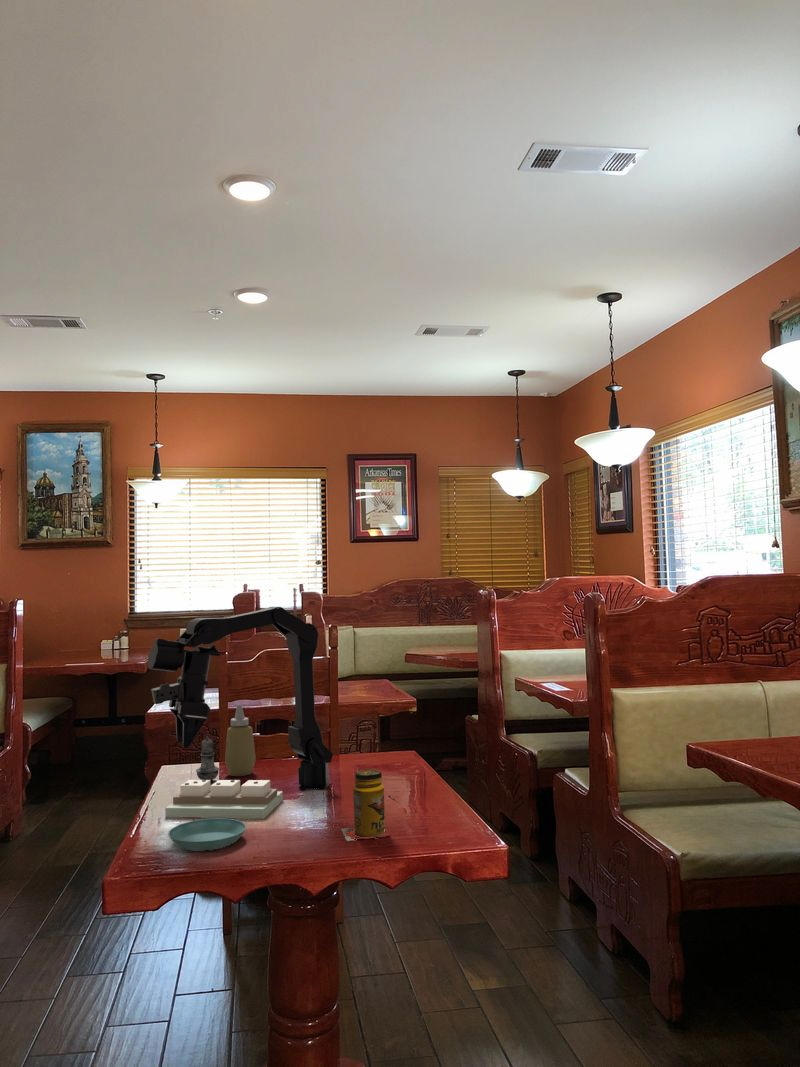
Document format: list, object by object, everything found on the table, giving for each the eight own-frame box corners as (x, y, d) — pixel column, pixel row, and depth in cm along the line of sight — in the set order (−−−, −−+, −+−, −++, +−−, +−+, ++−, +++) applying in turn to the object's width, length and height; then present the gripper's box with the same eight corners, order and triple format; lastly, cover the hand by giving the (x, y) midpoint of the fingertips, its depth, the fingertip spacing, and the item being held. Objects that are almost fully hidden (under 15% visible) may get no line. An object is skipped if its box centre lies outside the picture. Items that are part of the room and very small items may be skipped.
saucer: (229, 857, 147) (229, 842, 147) (154, 854, 150) (154, 840, 150) (257, 831, 162) (257, 818, 162) (188, 830, 164) (188, 816, 165)
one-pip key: (270, 791, 180) (270, 779, 180) (263, 797, 175) (263, 785, 175) (248, 791, 180) (248, 779, 180) (241, 797, 175) (241, 785, 175)
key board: (282, 800, 184) (282, 785, 184) (264, 818, 170) (263, 802, 170) (191, 799, 187) (191, 784, 187) (165, 817, 173) (165, 801, 173)
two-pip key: (240, 791, 181) (240, 779, 181) (232, 797, 176) (232, 784, 176) (219, 791, 181) (218, 779, 181) (210, 797, 176) (210, 784, 176)
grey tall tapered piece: (213, 787, 197) (213, 737, 198) (191, 786, 198) (190, 737, 199) (223, 781, 203) (223, 733, 204) (202, 780, 204) (201, 733, 205)
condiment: (390, 837, 155) (388, 774, 156) (347, 842, 153) (345, 778, 154) (382, 826, 162) (380, 766, 163) (341, 830, 160) (339, 769, 161)
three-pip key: (210, 791, 182) (210, 779, 182) (202, 797, 177) (201, 784, 177) (189, 791, 182) (189, 779, 182) (180, 797, 177) (180, 784, 177)
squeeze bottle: (253, 777, 206) (251, 706, 207) (221, 778, 206) (220, 707, 207) (258, 770, 214) (257, 701, 215) (228, 770, 214) (227, 702, 215)
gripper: (153, 667, 186) (140, 736, 183) (163, 672, 169) (149, 748, 166) (201, 673, 190) (189, 740, 187) (215, 678, 173) (203, 752, 170)
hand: (182, 745), depth 177 cm, fingers open, 9 cm apart
